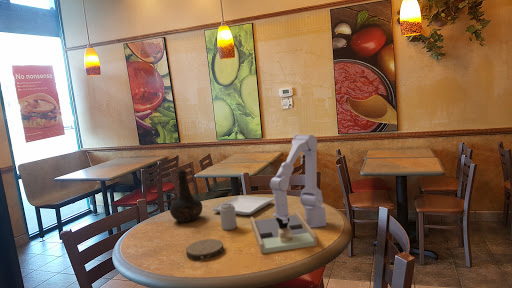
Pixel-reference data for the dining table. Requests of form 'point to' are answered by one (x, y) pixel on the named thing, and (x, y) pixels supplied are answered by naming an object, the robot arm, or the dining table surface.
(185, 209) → the glass bottle
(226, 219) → the can
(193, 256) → the grey brown round disc
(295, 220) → the box
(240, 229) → the dining table surface
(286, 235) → the maple block
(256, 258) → the dining table surface
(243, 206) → the square plate
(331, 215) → the dining table surface
